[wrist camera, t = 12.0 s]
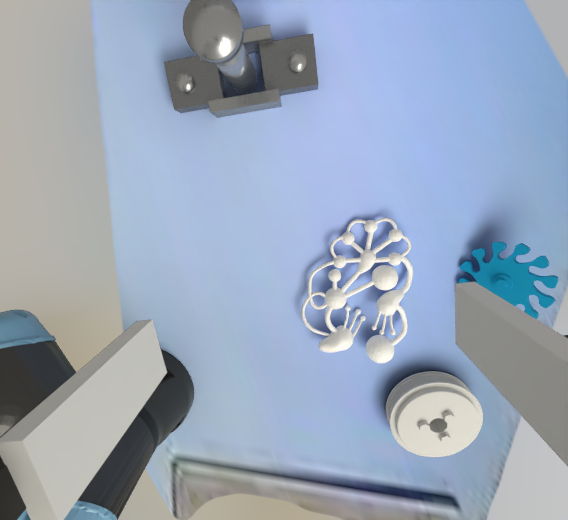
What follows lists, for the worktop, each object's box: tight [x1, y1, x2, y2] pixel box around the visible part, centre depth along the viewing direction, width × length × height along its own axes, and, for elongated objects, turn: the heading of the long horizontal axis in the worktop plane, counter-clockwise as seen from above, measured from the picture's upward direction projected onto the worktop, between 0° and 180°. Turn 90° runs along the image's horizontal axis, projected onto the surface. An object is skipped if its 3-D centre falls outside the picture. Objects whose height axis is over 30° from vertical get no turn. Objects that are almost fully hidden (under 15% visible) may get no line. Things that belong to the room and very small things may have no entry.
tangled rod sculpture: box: [301, 218, 413, 363], centre depth 41 cm, size 19×14×4 cm
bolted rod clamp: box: [164, 25, 318, 117], centre depth 35 cm, size 17×7×3 cm, turn 98°
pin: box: [183, 0, 257, 93], centre depth 30 cm, size 5×5×13 cm
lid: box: [386, 371, 483, 457], centre depth 45 cm, size 13×13×5 cm
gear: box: [459, 242, 558, 319], centre depth 39 cm, size 11×6×10 cm
